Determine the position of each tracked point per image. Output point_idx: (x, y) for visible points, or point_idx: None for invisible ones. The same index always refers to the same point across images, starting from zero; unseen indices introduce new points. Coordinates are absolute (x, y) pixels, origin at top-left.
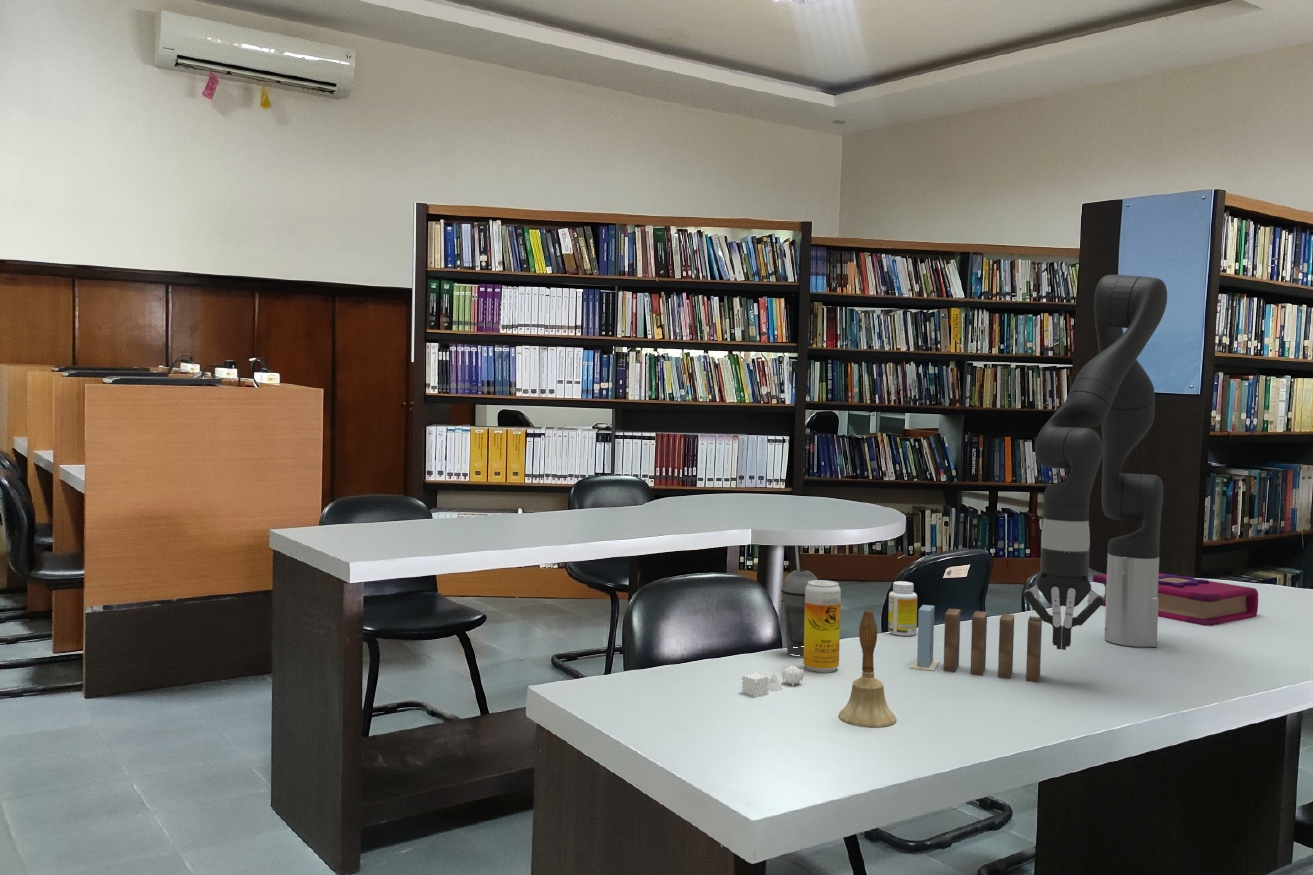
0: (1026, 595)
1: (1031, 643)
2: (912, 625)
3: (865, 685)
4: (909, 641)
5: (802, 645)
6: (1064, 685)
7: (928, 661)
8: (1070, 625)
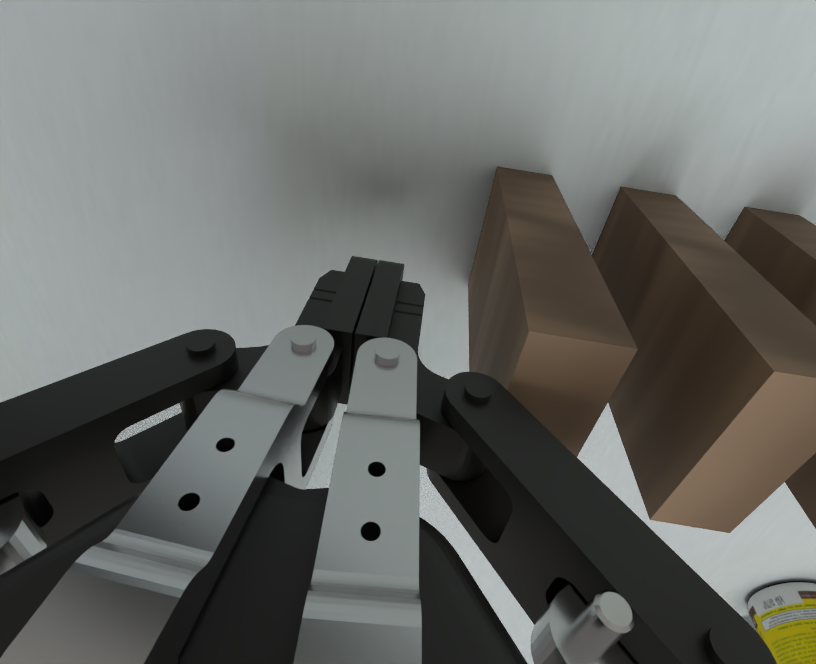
0: (744, 642)
1: (566, 252)
2: (789, 617)
3: None
4: (812, 547)
5: None
6: (386, 149)
7: None
8: (283, 335)
